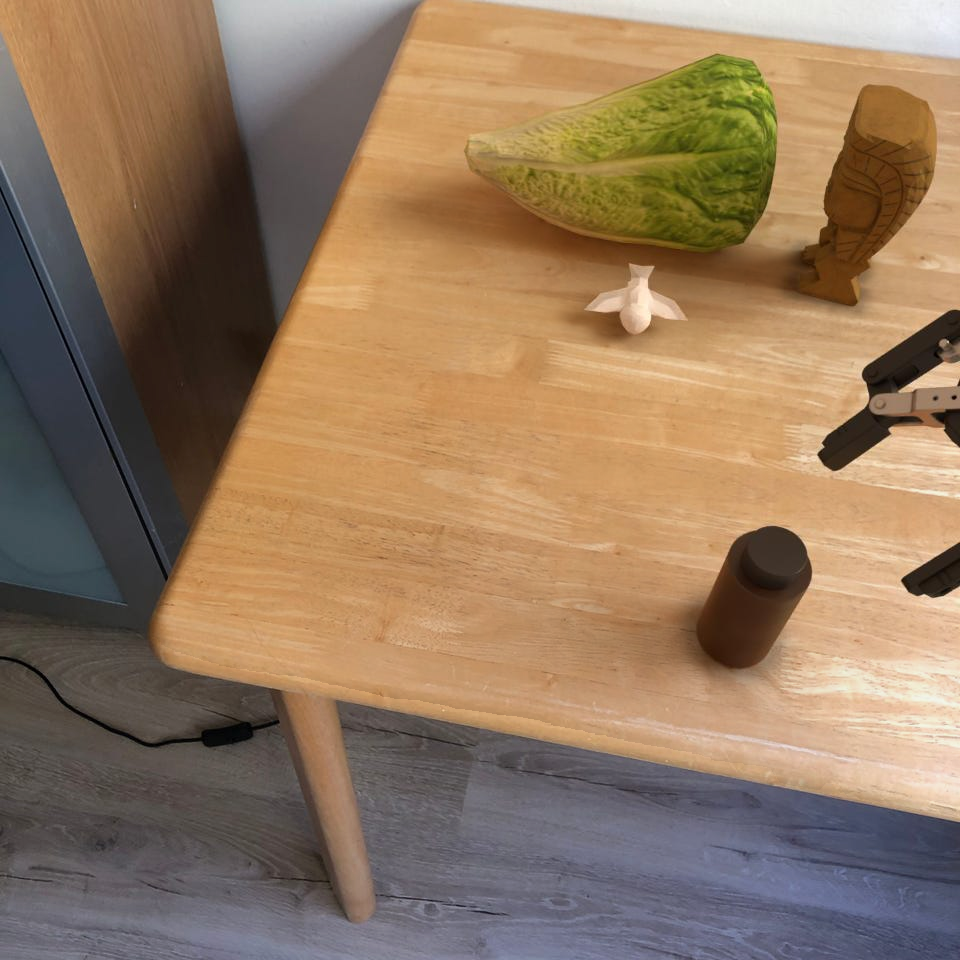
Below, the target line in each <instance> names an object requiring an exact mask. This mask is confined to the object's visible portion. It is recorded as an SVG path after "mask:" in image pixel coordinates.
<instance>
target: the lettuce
mask: <svg viewBox="0 0 960 960" xmlns="http://www.w3.org/2000/svg"><path fill="white" fill-rule="evenodd" d="M777 150H778V116H777V109H776V105H775V99H774V94H773V91H772V89H771V87H770V86H769V84H768V82H767V81H766V79H765V77H764V76H763V74H762V72H761V71H760V69H759V68H758V66H757V65H756V62H755V61H754V60H751V59H748V58H747V59H746V58H741V57H736V56H732V55H728V54H727V55H726V54H722V53H714V54H711V55H709V56H706V57H704V58H702V59H699V60H696V61H694V62H691V63H689V64H686V65H683V66H681V67H678V68H676V69H674V70H671V71H669V72H665V73H664V74H661V75H658V76H655V77H654V78H651V79H647V80H644V81H641V82H637V83H634V84H631V85H628V86H625V87H622V88H620V89H617V90H614V91H613V92H612V91H611V92H610V93H607V94H604V95H602V96H600V97H597V98H595V99H592V100H589V101H587V102H584V103H579V104H575V105H571V106H570V105H569V106H566V107H561V108H556V109H552V110H549V111H546V112H543V113H541V114H537V115H536V116H533V117H530V118H528V119H525V120H521V121H518V122H515V123H513V124H509V125H506V126H503V127H501V128H496V129H491V130H486V131H482V132H476V133H470V134H469V136H468V139H467V141H466V144H465V147H464V150H463V152H464V155H465V158H466V162H467V165H468V168H469V170H470V172H471V173H472V174H475V176H477V177H478V178H480V179H481V180H483V182H485V183H486V184H488V185H489V186H491V187H493V188H494V189H496V190H497V191H499V192H501V193H503V194H504V195H505V196H507V197H508V198H510V199H511V200H512V201H514V202H515V203H516V204H518V205H519V206H521V207H522V208H524V209H525V210H527V211H528V212H530V213H532V214H534V215H535V216H536V217H538V218H540V219H542V220H544V221H545V222H547V223H549V224H551V225H554V226H557V227H559V228H562V229H565V230H567V231H570V232H572V233H576V234H577V235H581V236H586V237H589V238H594V239H595V238H596V239H601V240H607V241H613V242H617V243H625V244H634V245H635V244H636V245H648V246H656V247H662V248H669V249H677V250H683V251H691V252H698V253H699V252H700V253H710V252H713V251H717V250H721V249H726V248H729V247H733V246H737V245H742V244H744V243H745V242H746V241H747V239H748V238H749V236H750V234H751V233H752V231H753V230H754V229H755V227H756V226H757V224H758V222H759V221H760V220H761V218H762V217H763V215H764V213H765V210H766V209H767V205H768V202H769V198H770V194H771V192H772V187H773V182H774V176H775V171H776V170H775V169H776V163H777Z"/></svg>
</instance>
